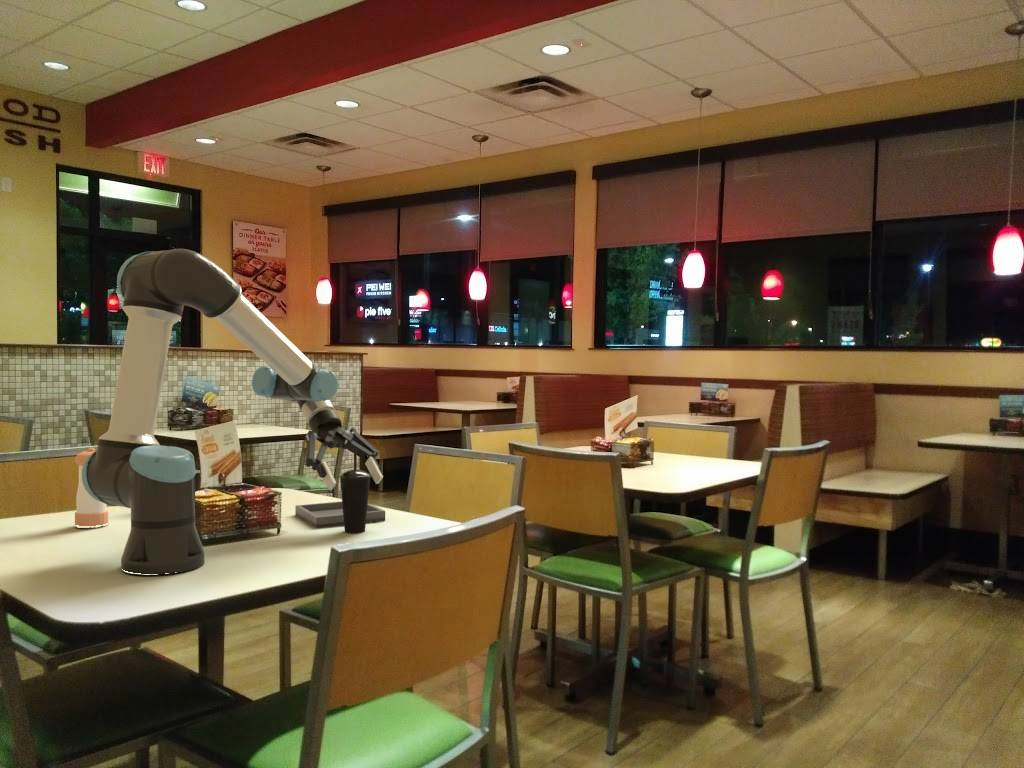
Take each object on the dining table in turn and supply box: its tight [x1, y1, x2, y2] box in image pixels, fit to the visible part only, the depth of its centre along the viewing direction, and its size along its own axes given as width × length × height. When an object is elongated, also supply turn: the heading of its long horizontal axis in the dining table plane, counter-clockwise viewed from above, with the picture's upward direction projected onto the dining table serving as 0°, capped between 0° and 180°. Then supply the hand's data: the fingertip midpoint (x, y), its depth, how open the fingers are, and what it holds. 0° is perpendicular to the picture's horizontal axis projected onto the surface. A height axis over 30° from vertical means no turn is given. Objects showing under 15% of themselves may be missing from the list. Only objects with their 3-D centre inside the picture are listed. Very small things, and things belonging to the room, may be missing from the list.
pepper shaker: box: [74, 447, 109, 526], centre depth 191 cm, size 7×7×19 cm
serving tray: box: [295, 500, 386, 529], centre depth 204 cm, size 18×18×2 cm
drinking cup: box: [338, 448, 372, 534], centre depth 188 cm, size 8×8×20 cm
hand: (356, 483), depth 189 cm, fingers open, 13 cm apart
